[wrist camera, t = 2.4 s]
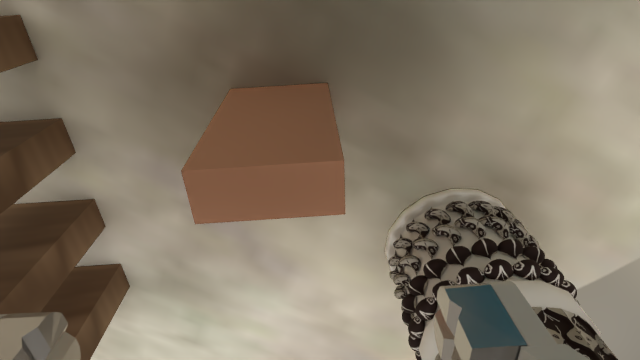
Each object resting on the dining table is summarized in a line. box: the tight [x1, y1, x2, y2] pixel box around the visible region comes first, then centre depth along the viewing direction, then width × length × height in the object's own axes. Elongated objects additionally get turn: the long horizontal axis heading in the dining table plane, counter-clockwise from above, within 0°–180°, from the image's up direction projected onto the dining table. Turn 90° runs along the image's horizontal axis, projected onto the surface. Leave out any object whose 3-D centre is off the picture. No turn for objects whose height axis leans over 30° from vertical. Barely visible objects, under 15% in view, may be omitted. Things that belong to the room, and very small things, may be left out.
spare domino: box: [181, 83, 345, 224], centre depth 16 cm, size 2×5×9 cm, turn 93°
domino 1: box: [41, 264, 130, 360], centre depth 21 cm, size 2×5×9 cm, turn 93°
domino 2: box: [0, 199, 105, 314], centre depth 19 cm, size 2×5×9 cm, turn 93°
